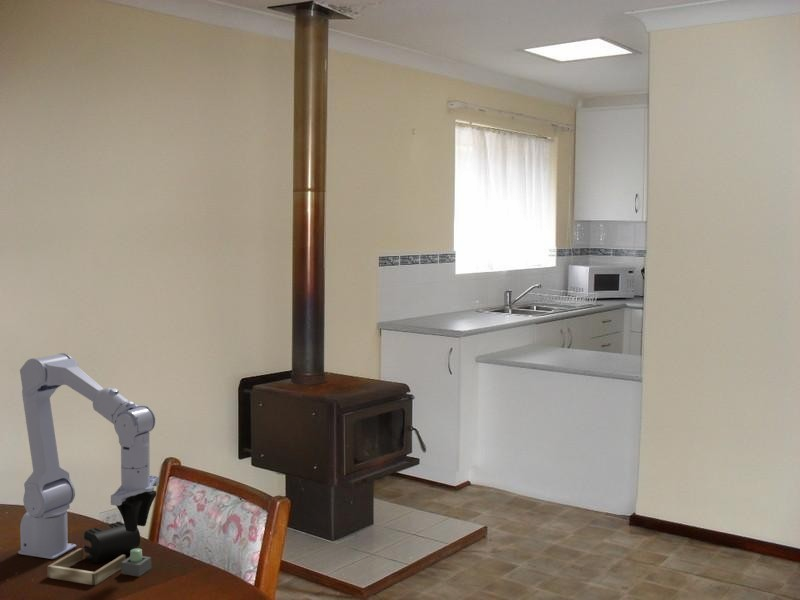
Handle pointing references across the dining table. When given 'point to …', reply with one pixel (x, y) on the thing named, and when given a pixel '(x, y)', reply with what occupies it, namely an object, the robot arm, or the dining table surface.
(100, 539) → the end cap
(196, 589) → the dining table surface
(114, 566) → the cream square frame
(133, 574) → the button housing
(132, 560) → the button
